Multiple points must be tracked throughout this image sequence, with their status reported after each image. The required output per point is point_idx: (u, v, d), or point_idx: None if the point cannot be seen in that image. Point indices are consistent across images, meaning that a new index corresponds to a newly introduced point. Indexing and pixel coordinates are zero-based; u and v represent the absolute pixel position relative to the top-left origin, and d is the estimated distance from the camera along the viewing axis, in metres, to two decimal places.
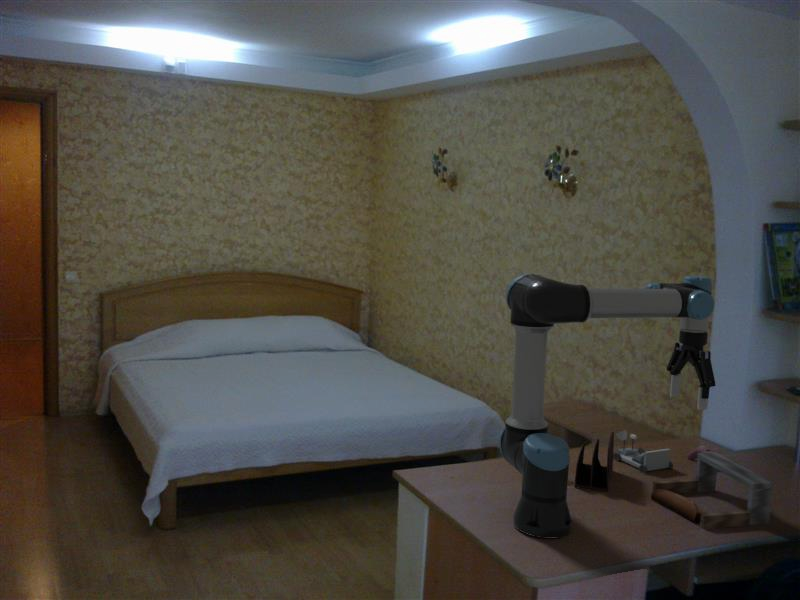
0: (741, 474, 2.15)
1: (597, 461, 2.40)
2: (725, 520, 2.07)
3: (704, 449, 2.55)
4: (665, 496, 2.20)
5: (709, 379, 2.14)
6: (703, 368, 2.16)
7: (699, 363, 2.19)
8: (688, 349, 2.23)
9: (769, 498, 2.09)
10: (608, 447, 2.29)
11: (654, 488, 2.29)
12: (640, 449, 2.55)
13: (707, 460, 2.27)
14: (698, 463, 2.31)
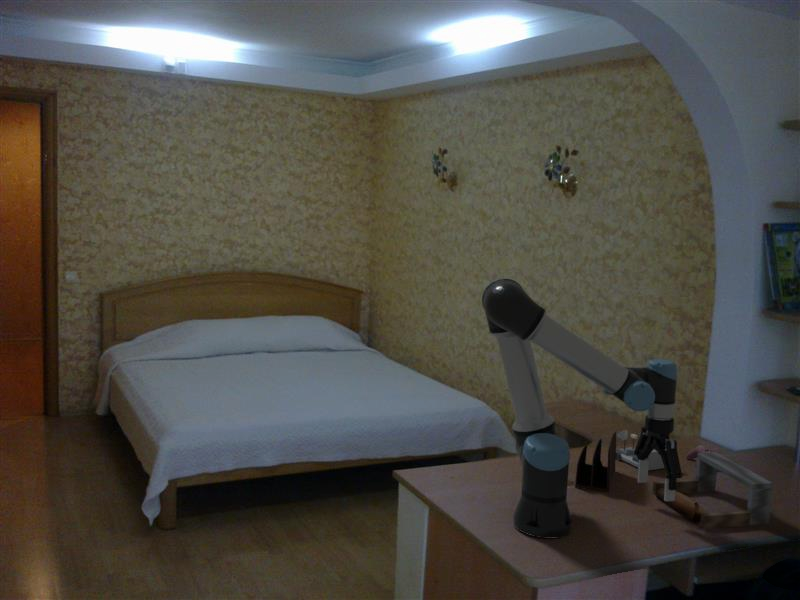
0: (741, 474, 2.15)
1: (599, 461, 2.40)
2: (725, 520, 2.07)
3: (703, 449, 2.55)
4: None
5: (675, 471, 2.05)
6: (669, 459, 2.06)
7: (665, 452, 2.10)
8: (654, 436, 2.13)
9: (769, 498, 2.09)
10: (609, 447, 2.29)
11: (654, 488, 2.29)
12: None
13: (707, 460, 2.27)
14: (698, 463, 2.31)
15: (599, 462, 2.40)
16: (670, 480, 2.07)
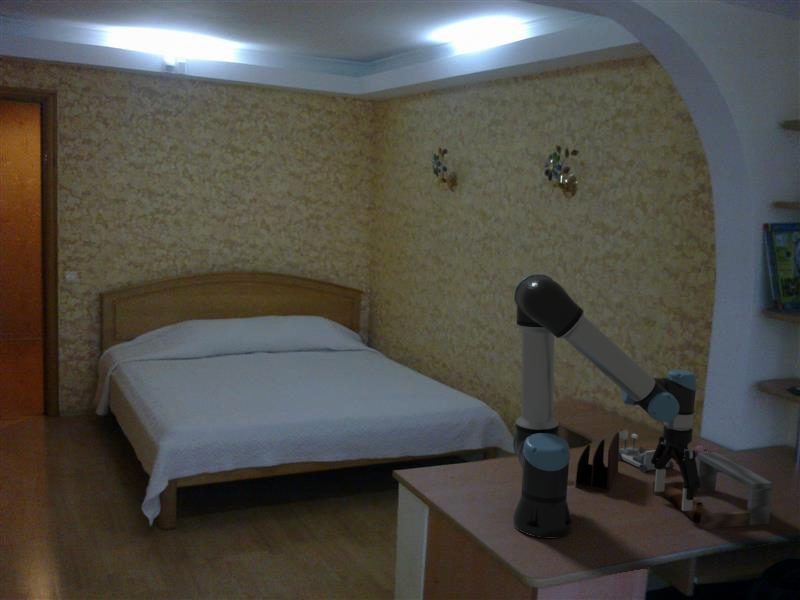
0: (741, 474, 2.15)
1: (600, 462, 2.40)
2: (725, 520, 2.07)
3: (701, 449, 2.55)
4: (674, 494, 2.22)
5: (693, 481, 2.07)
6: (687, 469, 2.08)
7: (684, 462, 2.12)
8: (672, 446, 2.15)
9: (769, 498, 2.09)
10: (609, 447, 2.29)
11: (654, 488, 2.29)
12: (641, 448, 2.56)
13: (707, 460, 2.27)
14: (698, 463, 2.31)
15: (601, 462, 2.40)
16: (688, 490, 2.09)
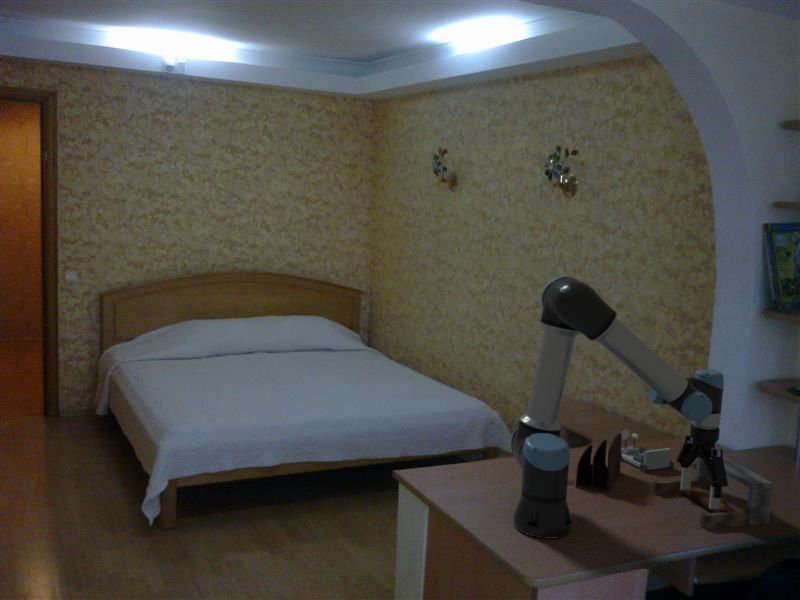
0: (741, 474, 2.15)
1: (602, 462, 2.40)
2: (725, 520, 2.07)
3: None
4: (697, 493, 2.23)
5: (721, 479, 2.09)
6: (715, 467, 2.10)
7: (711, 460, 2.14)
8: (699, 444, 2.17)
9: (769, 498, 2.09)
10: (609, 448, 2.29)
11: (654, 488, 2.29)
12: (641, 448, 2.56)
13: None
14: (698, 463, 2.31)
15: (602, 463, 2.39)
16: (716, 488, 2.11)
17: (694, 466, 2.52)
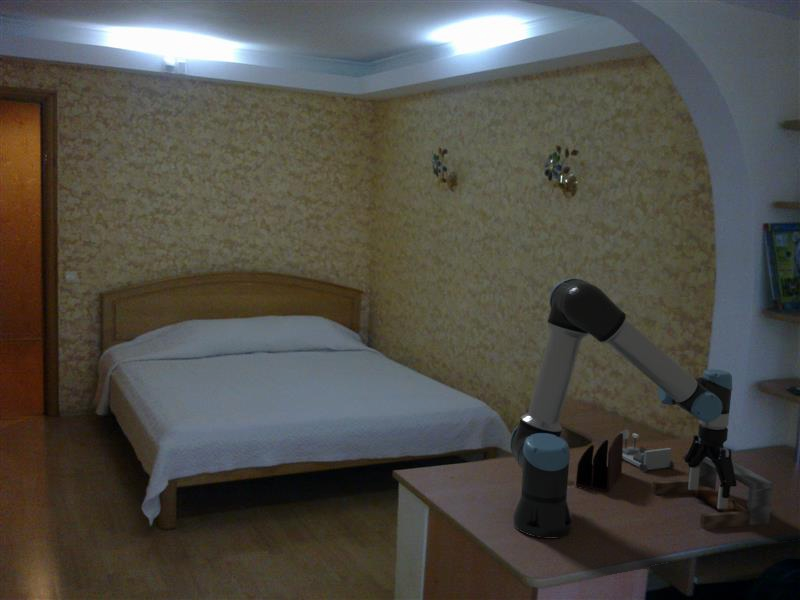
0: (741, 474, 2.15)
1: (602, 462, 2.39)
2: (725, 520, 2.07)
3: None
4: (706, 492, 2.24)
5: (730, 479, 2.09)
6: (724, 467, 2.11)
7: (719, 460, 2.14)
8: (708, 444, 2.18)
9: (769, 498, 2.09)
10: (609, 448, 2.29)
11: (654, 488, 2.29)
12: (641, 448, 2.56)
13: (707, 460, 2.27)
14: None
15: (603, 463, 2.39)
16: (724, 488, 2.11)
17: None
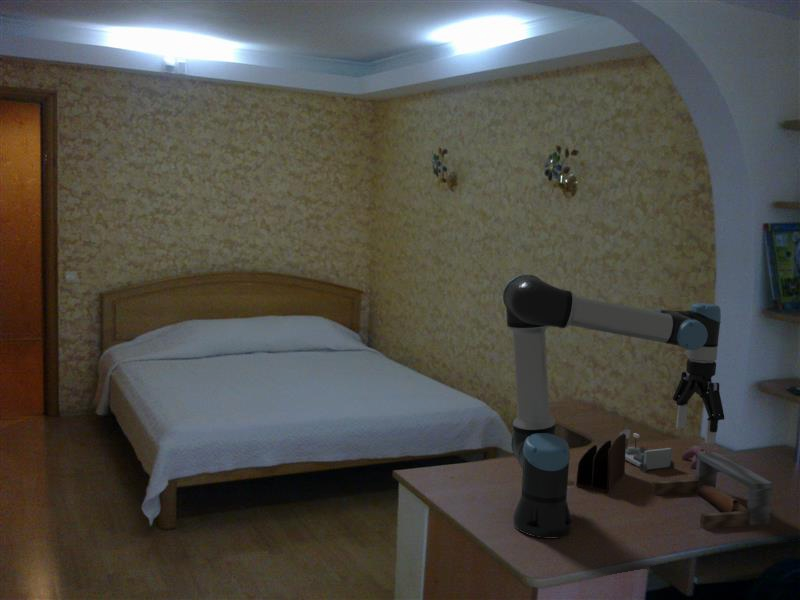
0: (741, 474, 2.15)
1: (604, 462, 2.39)
2: (725, 520, 2.07)
3: (698, 449, 2.55)
4: (709, 492, 2.24)
5: (718, 412, 2.05)
6: (711, 400, 2.07)
7: (707, 395, 2.10)
8: (696, 379, 2.14)
9: (769, 498, 2.09)
10: (609, 448, 2.29)
11: (654, 488, 2.29)
12: (642, 448, 2.57)
13: (707, 460, 2.27)
14: (698, 463, 2.31)
15: (605, 463, 2.39)
16: (712, 422, 2.07)
17: (692, 466, 2.52)
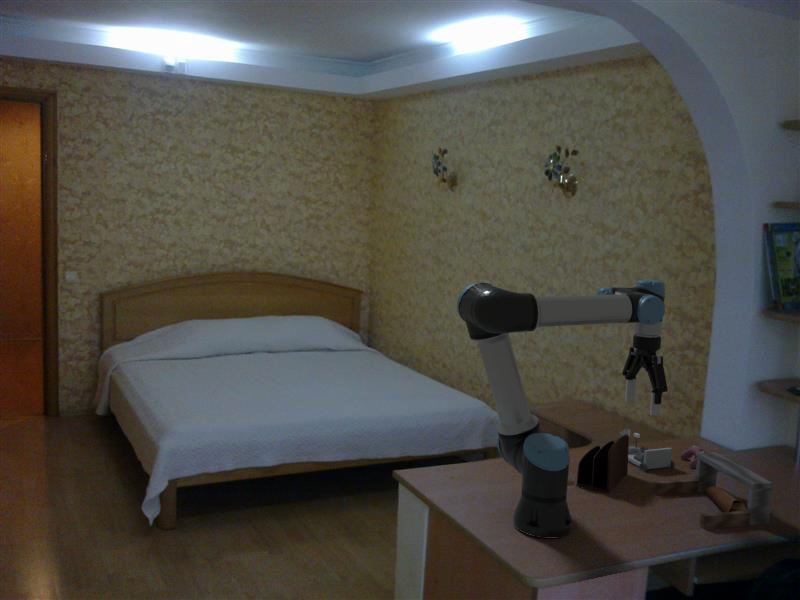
0: (741, 474, 2.15)
1: (606, 463, 2.39)
2: (725, 520, 2.07)
3: (697, 449, 2.55)
4: (714, 491, 2.25)
5: (661, 384, 2.12)
6: (655, 373, 2.13)
7: (652, 368, 2.17)
8: (642, 354, 2.20)
9: (769, 498, 2.09)
10: (610, 448, 2.28)
11: (654, 488, 2.29)
12: (642, 448, 2.57)
13: (707, 460, 2.27)
14: (698, 463, 2.31)
15: (606, 463, 2.39)
16: (656, 394, 2.14)
17: (690, 466, 2.52)
